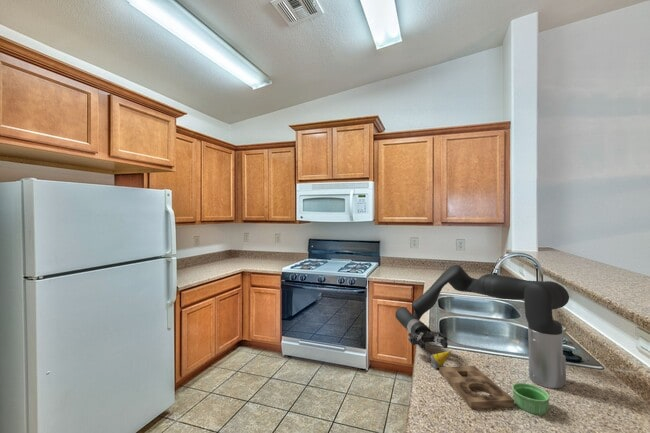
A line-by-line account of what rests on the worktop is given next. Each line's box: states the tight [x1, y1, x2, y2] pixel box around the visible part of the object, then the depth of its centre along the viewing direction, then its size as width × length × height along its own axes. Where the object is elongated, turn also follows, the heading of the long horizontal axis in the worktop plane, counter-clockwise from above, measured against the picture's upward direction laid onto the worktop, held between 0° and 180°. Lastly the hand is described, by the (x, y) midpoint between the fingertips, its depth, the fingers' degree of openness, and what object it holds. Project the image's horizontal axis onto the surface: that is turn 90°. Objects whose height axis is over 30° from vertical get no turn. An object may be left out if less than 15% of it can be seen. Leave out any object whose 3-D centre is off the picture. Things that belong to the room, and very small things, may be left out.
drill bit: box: [430, 350, 452, 370], centre depth 108 cm, size 5×5×10 cm
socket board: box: [438, 365, 515, 410], centre depth 95 cm, size 13×20×2 cm, turn 4°
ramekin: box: [512, 382, 551, 416], centre depth 86 cm, size 9×9×4 cm
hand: (435, 346), depth 111 cm, fingers open, 8 cm apart
